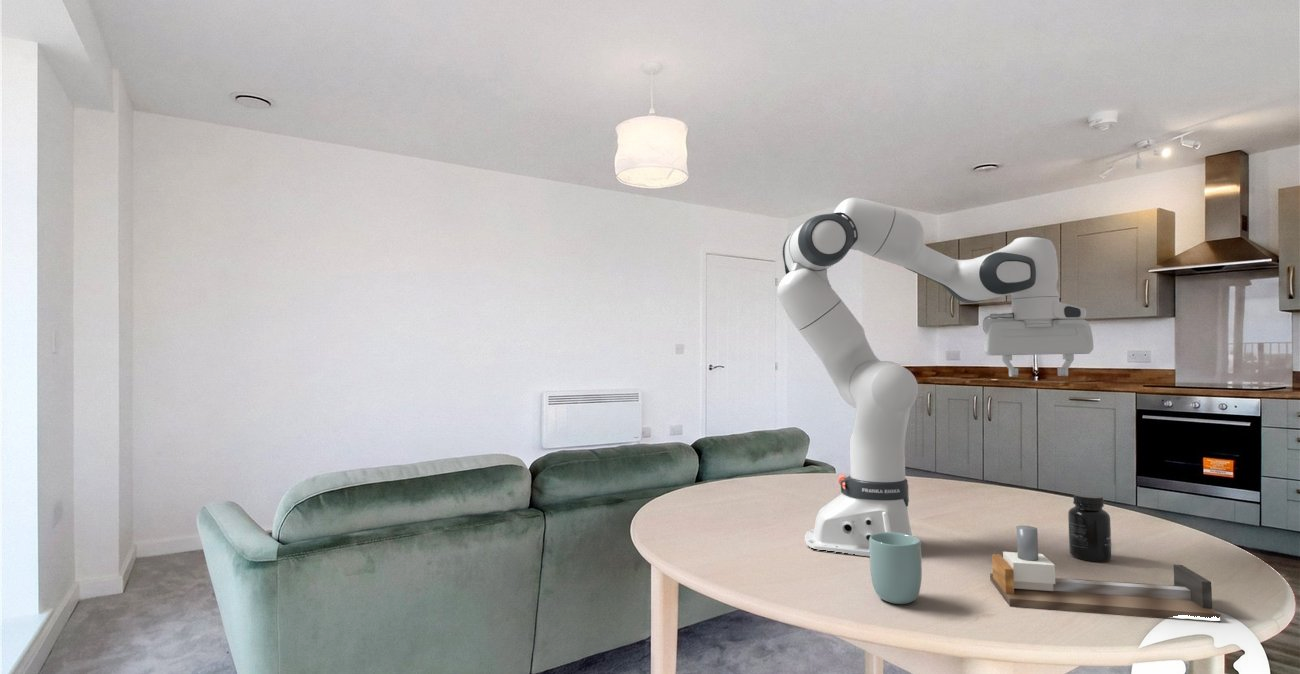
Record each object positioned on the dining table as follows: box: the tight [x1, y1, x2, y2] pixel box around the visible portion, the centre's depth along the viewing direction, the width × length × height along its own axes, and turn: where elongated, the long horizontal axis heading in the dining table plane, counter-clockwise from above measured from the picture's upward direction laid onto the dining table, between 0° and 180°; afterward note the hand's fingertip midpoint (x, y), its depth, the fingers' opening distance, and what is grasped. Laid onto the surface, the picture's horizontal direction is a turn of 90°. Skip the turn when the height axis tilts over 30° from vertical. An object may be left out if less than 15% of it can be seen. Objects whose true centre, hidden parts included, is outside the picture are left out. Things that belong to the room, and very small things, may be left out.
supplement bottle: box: [1067, 493, 1113, 563], centre depth 124 cm, size 7×7×12 cm
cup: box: [869, 532, 923, 605], centre depth 104 cm, size 8×8×10 cm
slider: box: [1002, 525, 1056, 591], centre depth 105 cm, size 6×6×10 cm
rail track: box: [989, 553, 1222, 619], centre depth 103 cm, size 28×12×5 cm, turn 75°
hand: (1038, 376), depth 136 cm, fingers open, 8 cm apart
